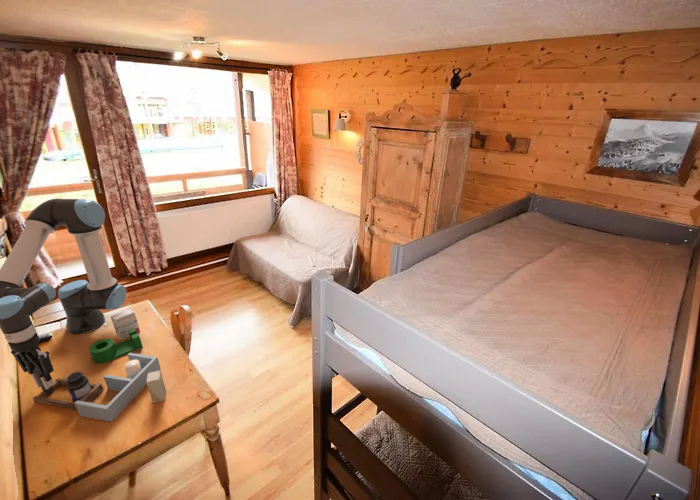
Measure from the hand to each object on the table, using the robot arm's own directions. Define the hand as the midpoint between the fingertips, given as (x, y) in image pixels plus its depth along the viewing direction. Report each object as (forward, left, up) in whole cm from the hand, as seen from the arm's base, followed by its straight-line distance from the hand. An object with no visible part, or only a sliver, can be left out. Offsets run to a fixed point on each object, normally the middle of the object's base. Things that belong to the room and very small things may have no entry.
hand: (45, 385), depth 124 cm
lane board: (-6, +27, -4) cm, 28 cm away
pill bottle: (0, +15, -4) cm, 15 cm away
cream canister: (-12, +27, -4) cm, 30 cm away
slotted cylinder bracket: (-24, +8, -4) cm, 26 cm away
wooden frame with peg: (0, +9, -3) cm, 9 cm away
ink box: (-36, +3, -4) cm, 36 cm away
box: (-6, +42, -4) cm, 43 cm away
